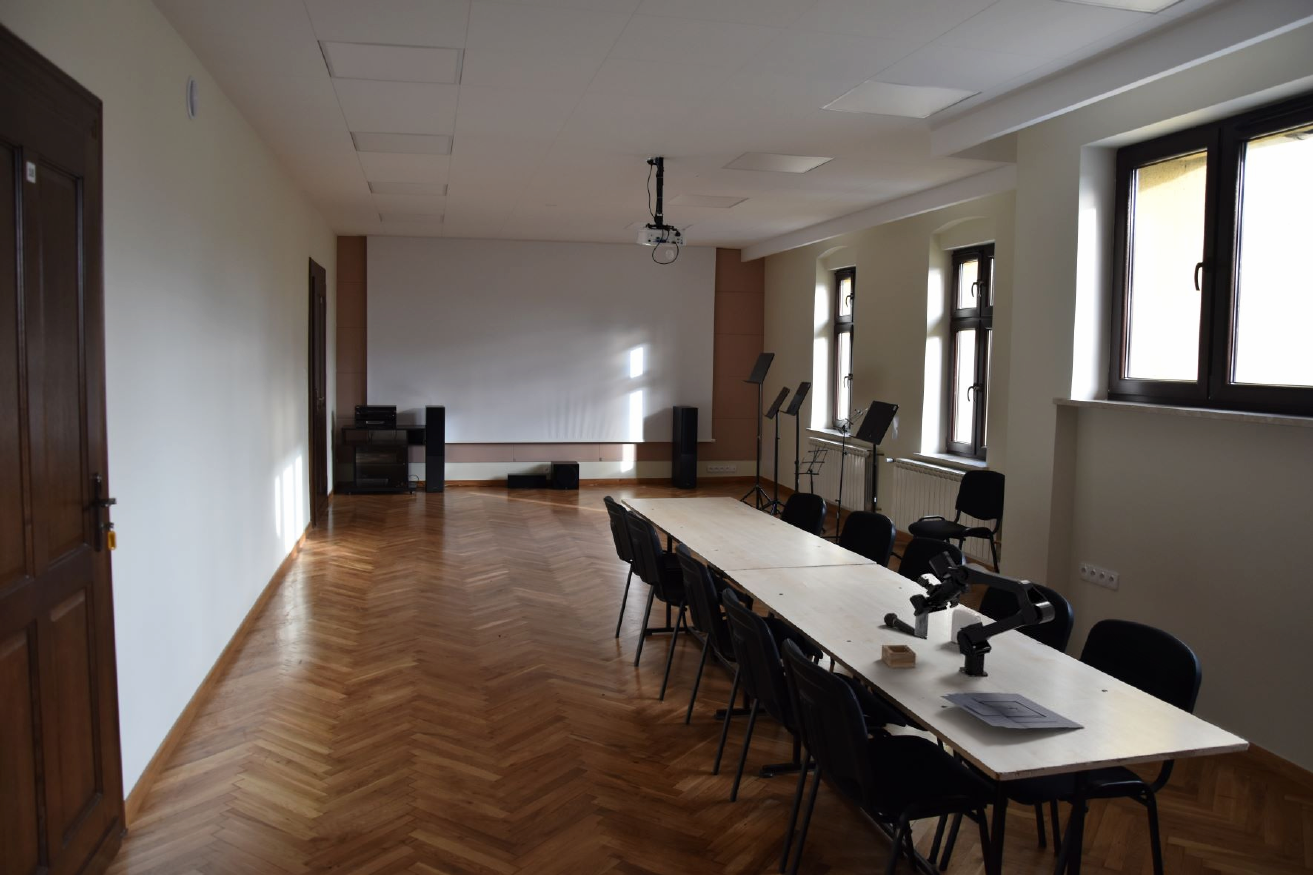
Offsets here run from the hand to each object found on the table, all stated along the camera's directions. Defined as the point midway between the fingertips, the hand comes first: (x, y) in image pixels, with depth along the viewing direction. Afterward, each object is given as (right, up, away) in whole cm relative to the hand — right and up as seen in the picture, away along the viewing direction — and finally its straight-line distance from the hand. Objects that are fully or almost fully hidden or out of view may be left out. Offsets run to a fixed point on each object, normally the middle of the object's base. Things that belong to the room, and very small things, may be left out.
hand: (918, 614), depth 286 cm
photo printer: (+19, -13, +10) cm, 24 cm away
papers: (+9, -18, -50) cm, 54 cm away
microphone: (+1, -11, +22) cm, 25 cm away
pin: (+1, -7, -1) cm, 7 cm away
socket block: (-10, -13, -10) cm, 20 cm away
